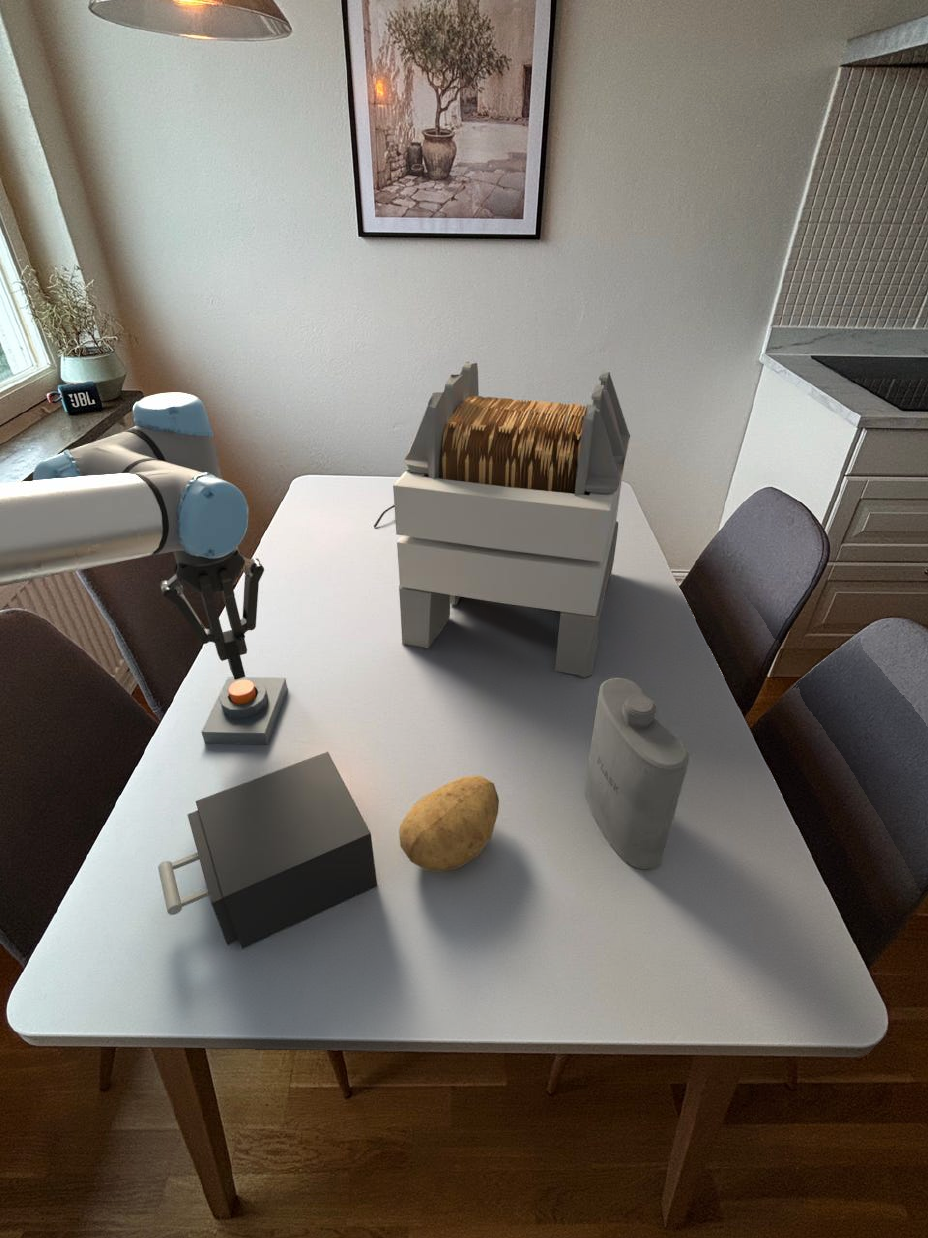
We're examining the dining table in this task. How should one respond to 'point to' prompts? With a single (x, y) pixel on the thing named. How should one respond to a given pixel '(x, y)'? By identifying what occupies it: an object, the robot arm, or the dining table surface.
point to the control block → (246, 713)
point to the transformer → (511, 510)
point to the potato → (450, 824)
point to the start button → (242, 691)
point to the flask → (633, 773)
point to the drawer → (212, 883)
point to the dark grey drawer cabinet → (287, 847)
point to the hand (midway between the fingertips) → (237, 672)
